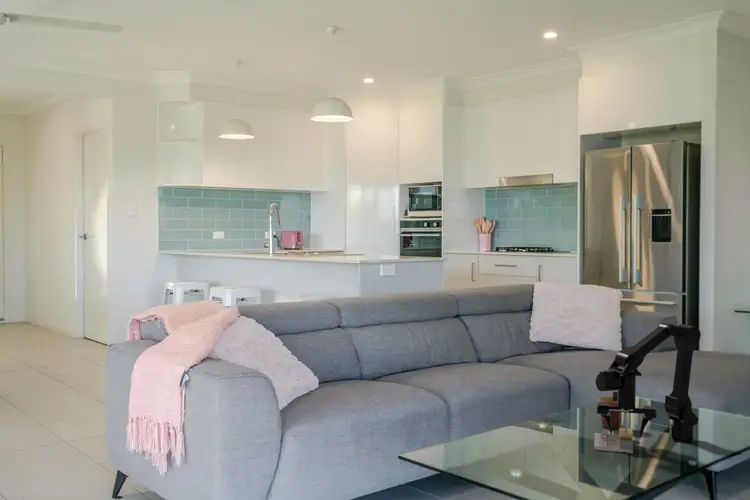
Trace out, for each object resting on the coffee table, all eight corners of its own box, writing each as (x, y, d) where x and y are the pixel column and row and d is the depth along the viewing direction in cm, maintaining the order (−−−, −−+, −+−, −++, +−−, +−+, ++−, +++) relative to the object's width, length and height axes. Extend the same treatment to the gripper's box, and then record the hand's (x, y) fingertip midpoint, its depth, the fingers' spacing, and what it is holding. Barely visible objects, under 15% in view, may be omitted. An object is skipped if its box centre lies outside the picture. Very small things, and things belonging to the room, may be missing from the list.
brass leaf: (631, 440, 249) (632, 427, 249) (632, 445, 243) (632, 432, 243) (619, 438, 250) (619, 426, 250) (619, 444, 244) (619, 431, 244)
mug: (603, 422, 275) (603, 395, 274) (626, 426, 269) (627, 398, 269) (591, 429, 265) (591, 401, 265) (615, 434, 260) (616, 405, 259)
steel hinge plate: (630, 439, 254) (631, 430, 254) (632, 453, 239) (632, 443, 238) (594, 436, 257) (594, 427, 257) (594, 449, 242) (594, 440, 242)
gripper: (654, 385, 251) (653, 431, 252) (597, 382, 256) (596, 426, 257) (657, 393, 240) (656, 440, 241) (597, 389, 246) (596, 435, 246)
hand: (625, 435), depth 247 cm, fingers open, 9 cm apart
